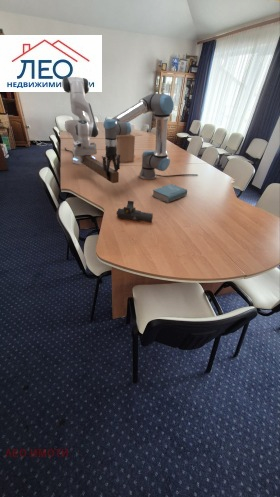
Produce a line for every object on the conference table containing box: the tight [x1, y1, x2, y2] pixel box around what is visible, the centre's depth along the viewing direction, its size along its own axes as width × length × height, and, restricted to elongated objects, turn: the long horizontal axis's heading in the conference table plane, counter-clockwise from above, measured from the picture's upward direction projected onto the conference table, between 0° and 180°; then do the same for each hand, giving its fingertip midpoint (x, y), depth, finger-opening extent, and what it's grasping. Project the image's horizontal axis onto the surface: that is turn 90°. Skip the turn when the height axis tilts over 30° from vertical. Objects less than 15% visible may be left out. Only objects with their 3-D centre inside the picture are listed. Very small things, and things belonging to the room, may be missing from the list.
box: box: [102, 130, 143, 163], centre depth 244 cm, size 44×36×27 cm
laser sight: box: [116, 200, 154, 223], centre depth 136 cm, size 10×22×10 cm, turn 78°
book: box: [152, 183, 188, 204], centre depth 172 cm, size 23×16×5 cm
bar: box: [81, 155, 120, 184], centre depth 175 cm, size 56×5×7 cm, turn 36°
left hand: (85, 160), depth 189 cm, fingers closed on bar, 5 cm apart
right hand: (111, 179), depth 163 cm, fingers closed on bar, 5 cm apart
